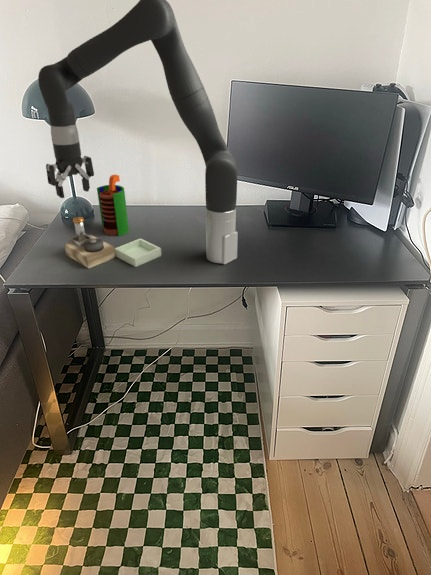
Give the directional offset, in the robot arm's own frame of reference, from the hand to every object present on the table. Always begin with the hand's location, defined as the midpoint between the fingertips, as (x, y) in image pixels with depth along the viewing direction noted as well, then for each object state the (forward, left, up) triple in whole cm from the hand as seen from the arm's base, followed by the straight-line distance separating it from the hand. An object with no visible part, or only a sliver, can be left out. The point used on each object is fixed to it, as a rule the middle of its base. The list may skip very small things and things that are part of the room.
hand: (74, 194), depth 140 cm
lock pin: (0, 0, -16) cm, 16 cm away
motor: (+7, -18, -20) cm, 28 cm away
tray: (-15, -11, -20) cm, 27 cm away
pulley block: (-4, 0, -20) cm, 21 cm away
